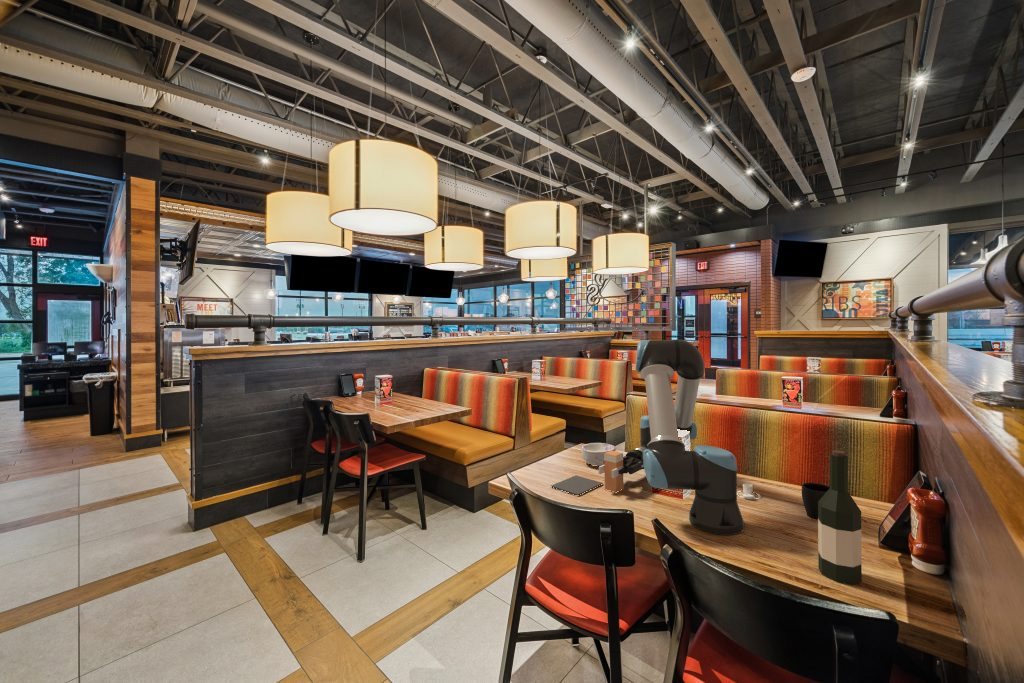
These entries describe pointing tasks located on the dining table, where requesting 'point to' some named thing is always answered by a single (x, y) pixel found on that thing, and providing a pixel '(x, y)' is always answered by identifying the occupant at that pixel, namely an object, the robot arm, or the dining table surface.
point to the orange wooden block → (610, 463)
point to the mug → (813, 497)
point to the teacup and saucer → (748, 492)
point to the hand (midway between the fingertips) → (606, 472)
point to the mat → (576, 485)
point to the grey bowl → (595, 452)
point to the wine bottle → (839, 527)
